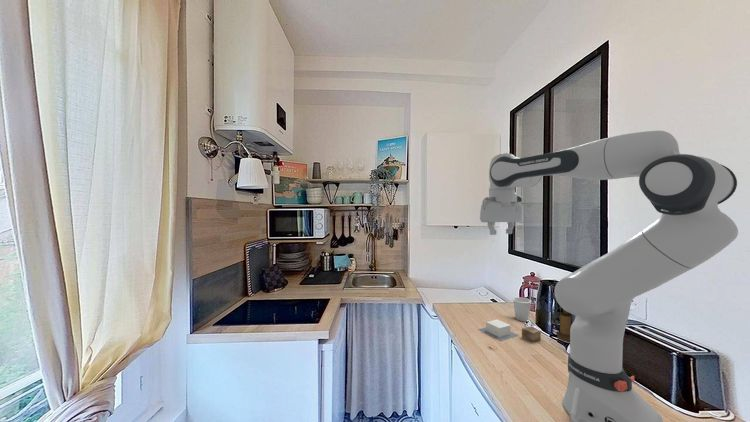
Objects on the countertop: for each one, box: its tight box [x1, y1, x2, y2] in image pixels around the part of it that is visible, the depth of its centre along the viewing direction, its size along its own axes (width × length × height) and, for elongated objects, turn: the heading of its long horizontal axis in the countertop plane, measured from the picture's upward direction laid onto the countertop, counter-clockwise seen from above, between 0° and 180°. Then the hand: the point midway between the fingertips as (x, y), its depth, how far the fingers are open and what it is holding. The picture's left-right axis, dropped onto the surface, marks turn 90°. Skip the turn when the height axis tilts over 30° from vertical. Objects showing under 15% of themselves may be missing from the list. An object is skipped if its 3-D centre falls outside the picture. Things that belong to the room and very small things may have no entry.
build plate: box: [477, 327, 520, 342], centre depth 120 cm, size 12×12×1 cm
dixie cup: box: [512, 296, 532, 322], centre depth 137 cm, size 8×8×10 cm
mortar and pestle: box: [556, 308, 572, 343], centre depth 115 cm, size 7×6×18 cm
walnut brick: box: [521, 326, 542, 343], centre depth 114 cm, size 5×5×5 cm
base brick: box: [485, 319, 511, 337], centre depth 120 cm, size 7×7×4 cm
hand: (501, 234), depth 101 cm, fingers open, 8 cm apart
